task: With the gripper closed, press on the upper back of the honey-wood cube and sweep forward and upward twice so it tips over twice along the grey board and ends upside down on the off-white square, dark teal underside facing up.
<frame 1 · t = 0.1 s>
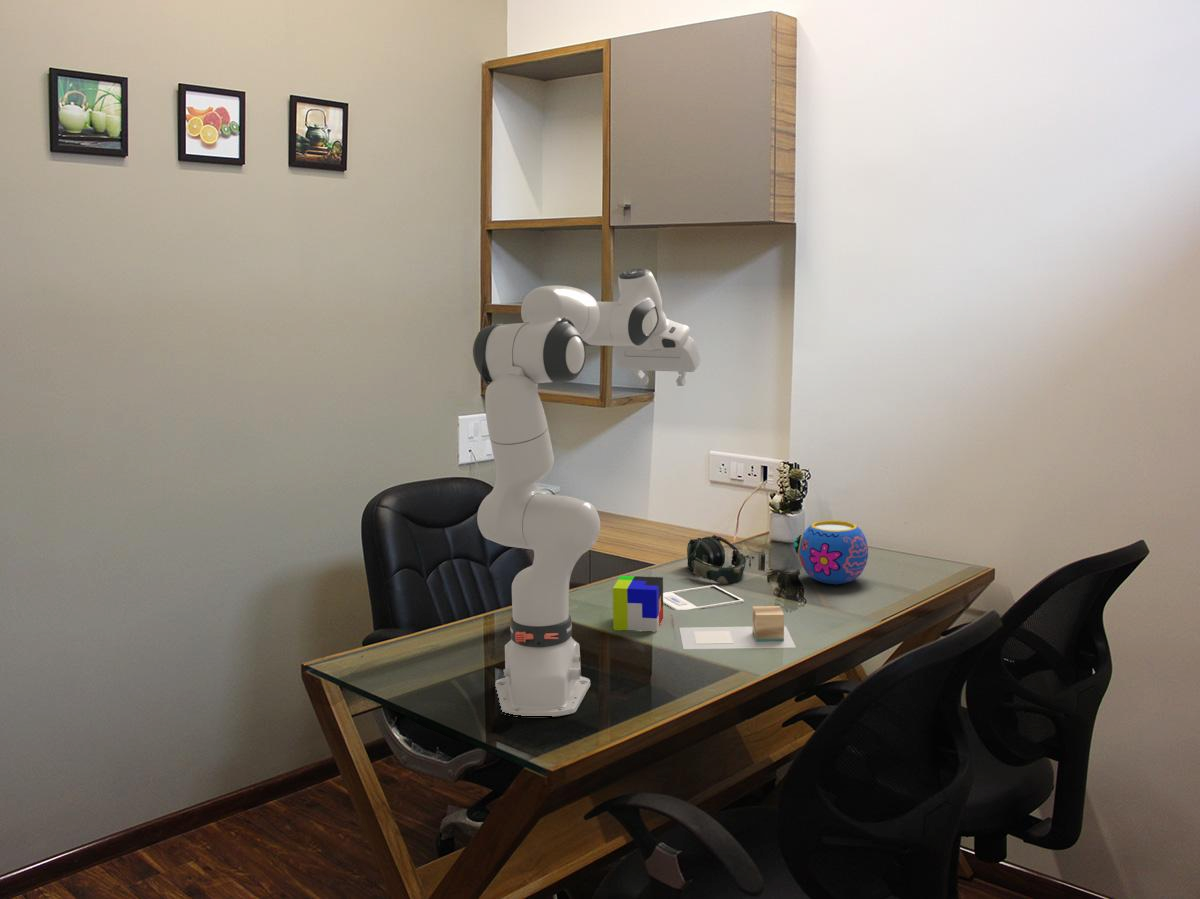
hand: (663, 383, 257), 54 cm above the table, tool tilted 30°, fingers open, 8 cm apart
headphones: (714, 575, 293), on the table
wood cube: (767, 636, 241), point 1 cm above the table, touching grey board
grey board: (735, 641, 241), on the table
photo frame: (697, 601, 272), on the table
puzzle toy: (638, 625, 254), on the table
ceramic pot: (832, 582, 284), on the table
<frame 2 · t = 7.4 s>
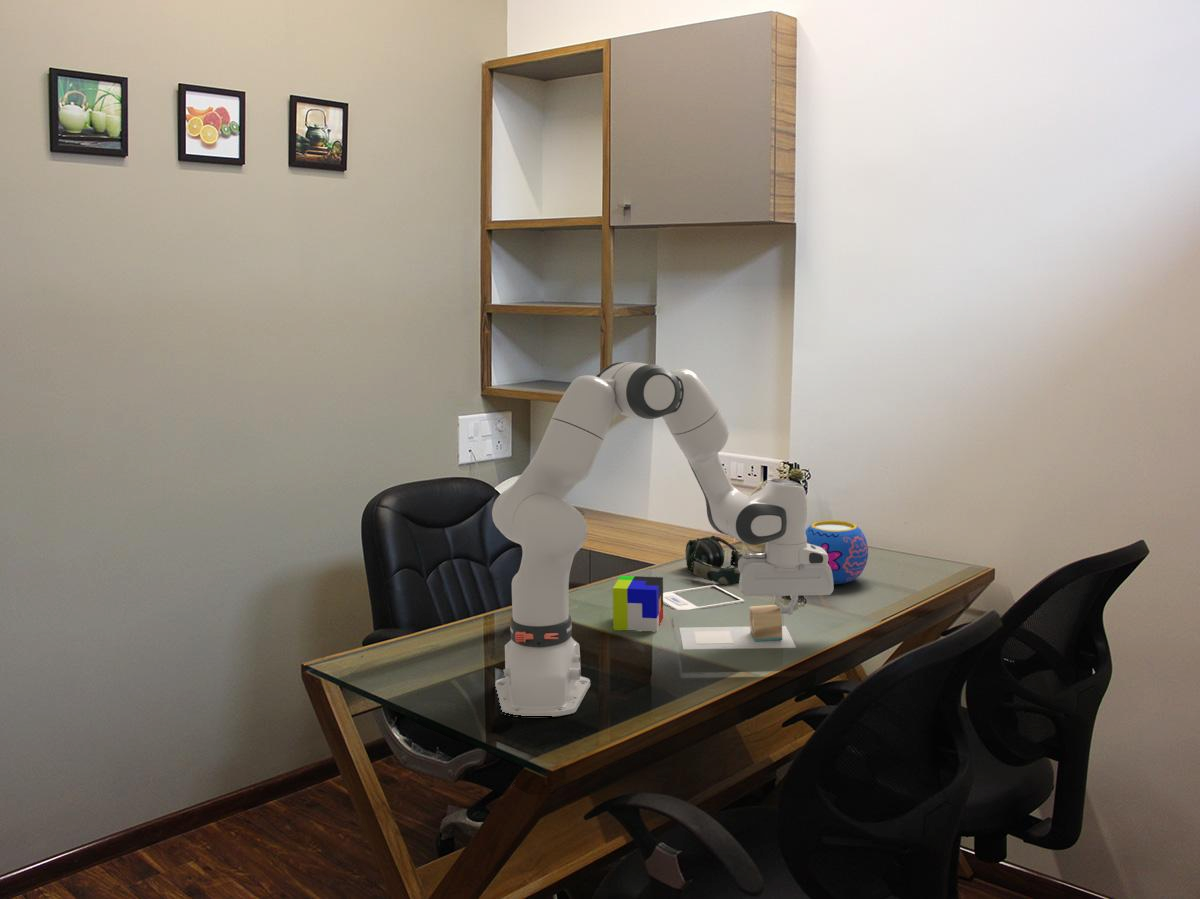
hand: (785, 614, 240), 6 cm above the table, tool pointing down, fingers closed
wood cube: (766, 636, 241), point 1 cm above the table, touching grey board, gripper
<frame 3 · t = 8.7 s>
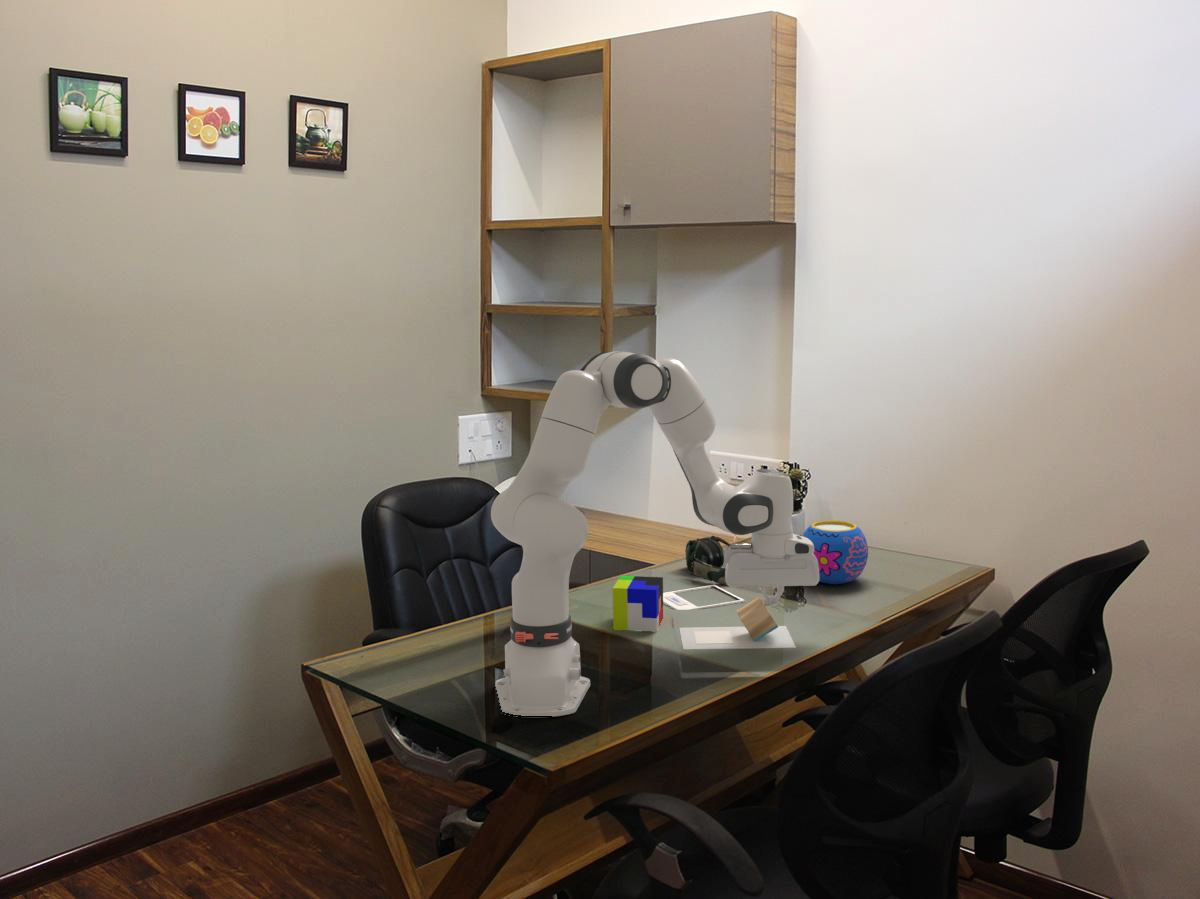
hand: (771, 604, 240), 8 cm above the table, tool pointing down, fingers closed
wood cube: (764, 629, 241), point 3 cm above the table, tilted 32°, touching grey board, gripper
everything else where it was.
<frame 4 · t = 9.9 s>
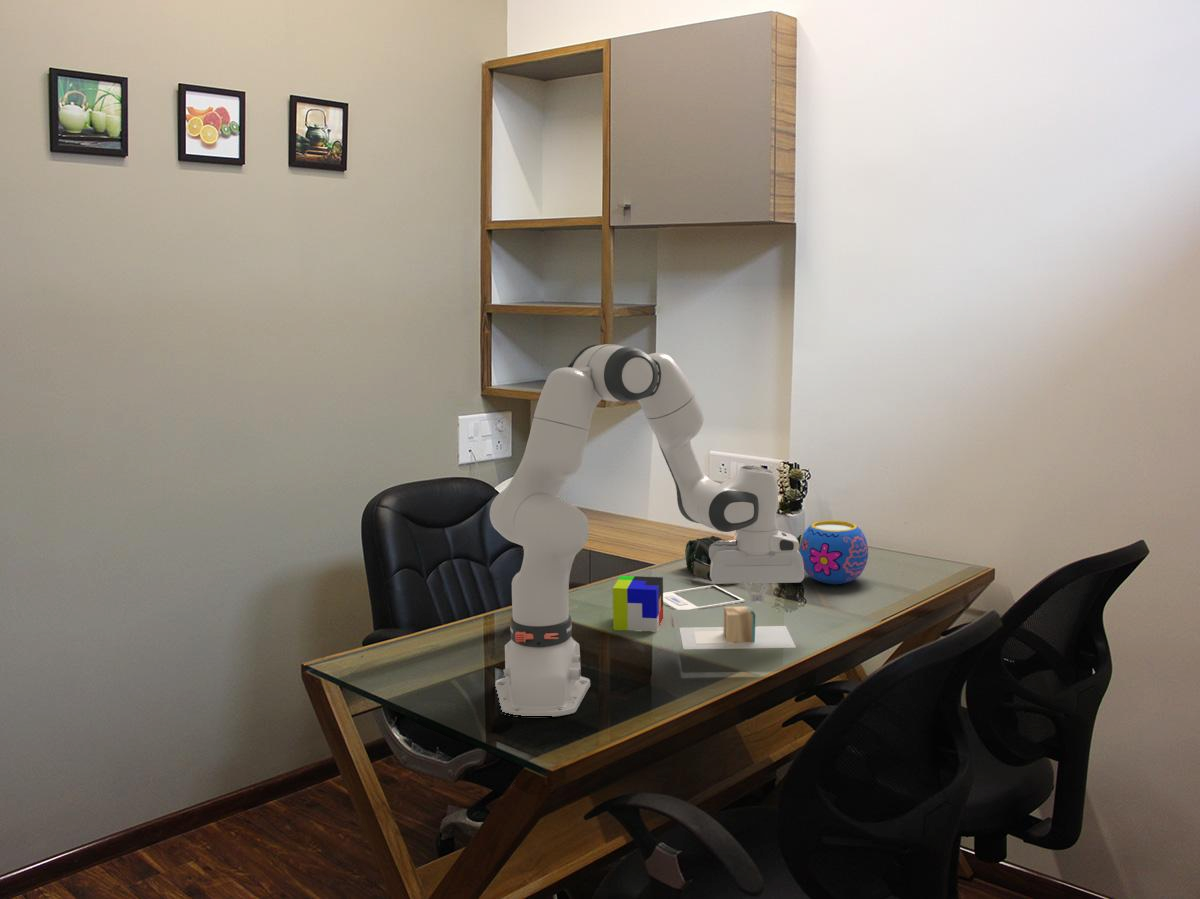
hand: (756, 601, 240), 9 cm above the table, tool pointing down, fingers closed
wood cube: (752, 623, 241), point 4 cm above the table, tilted 89°, touching grey board
everything else where it was.
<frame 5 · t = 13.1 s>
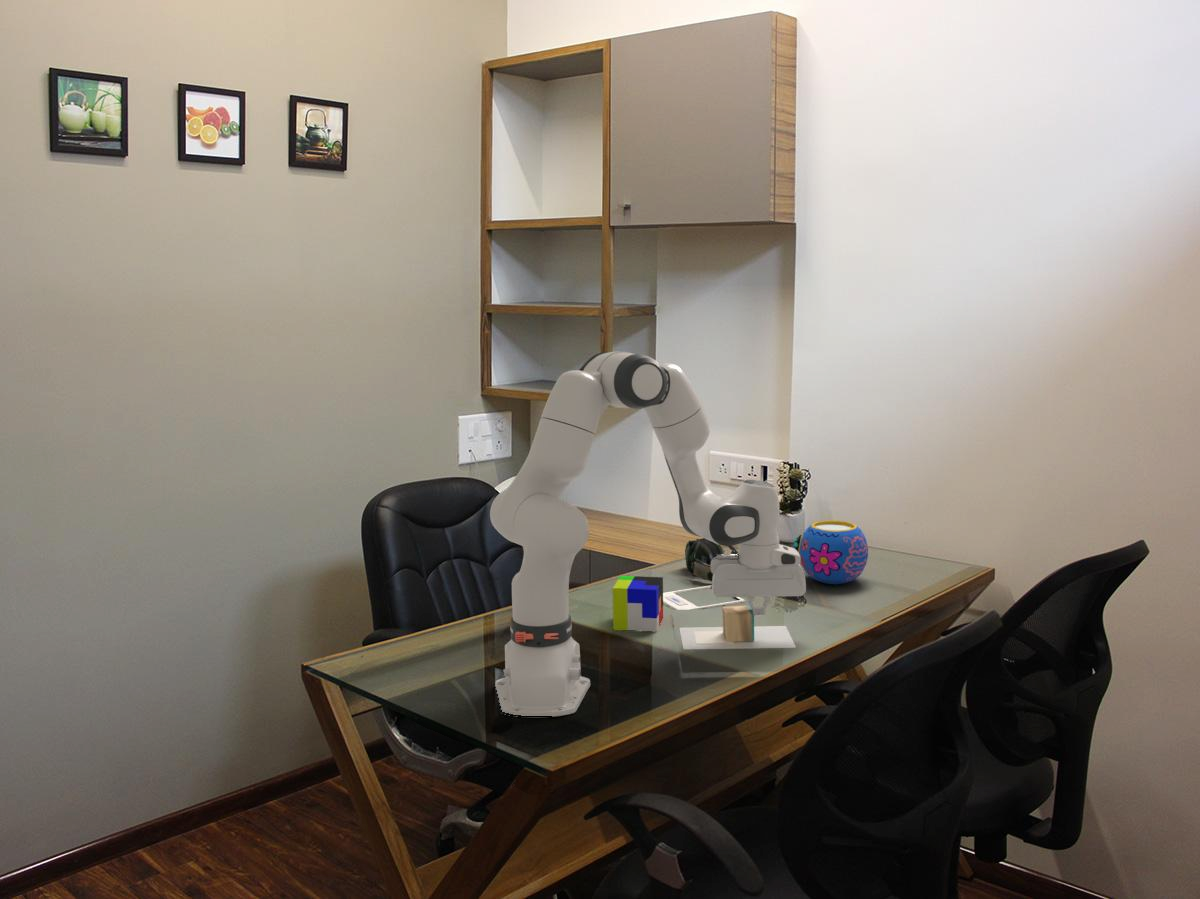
hand: (758, 615, 240), 6 cm above the table, tool pointing down, fingers closed
wood cube: (751, 622, 241), point 4 cm above the table, tilted 91°, touching grey board, gripper
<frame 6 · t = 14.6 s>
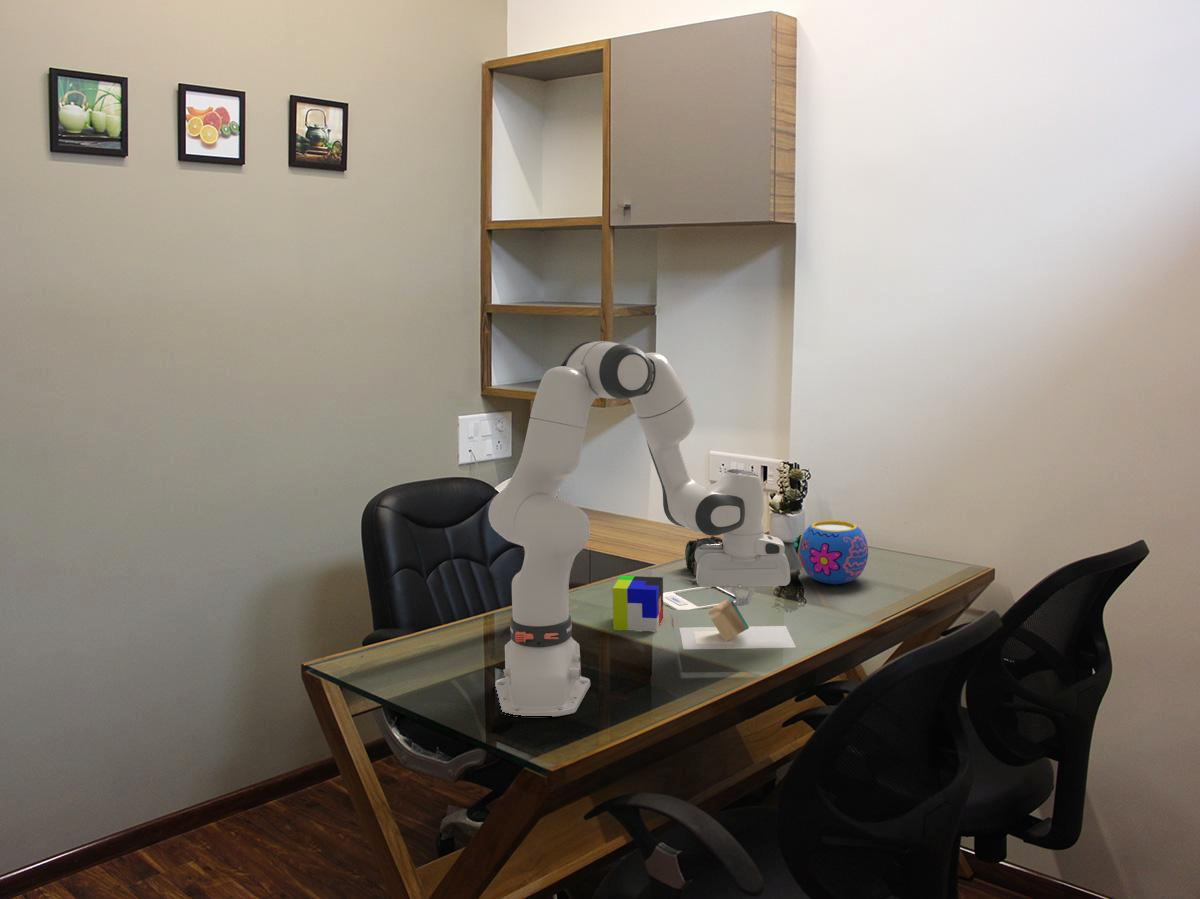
hand: (742, 605, 240), 8 cm above the table, tool pointing down, fingers closed
wood cube: (739, 612, 240), point 7 cm above the table, tilted 120°, touching grey board, gripper
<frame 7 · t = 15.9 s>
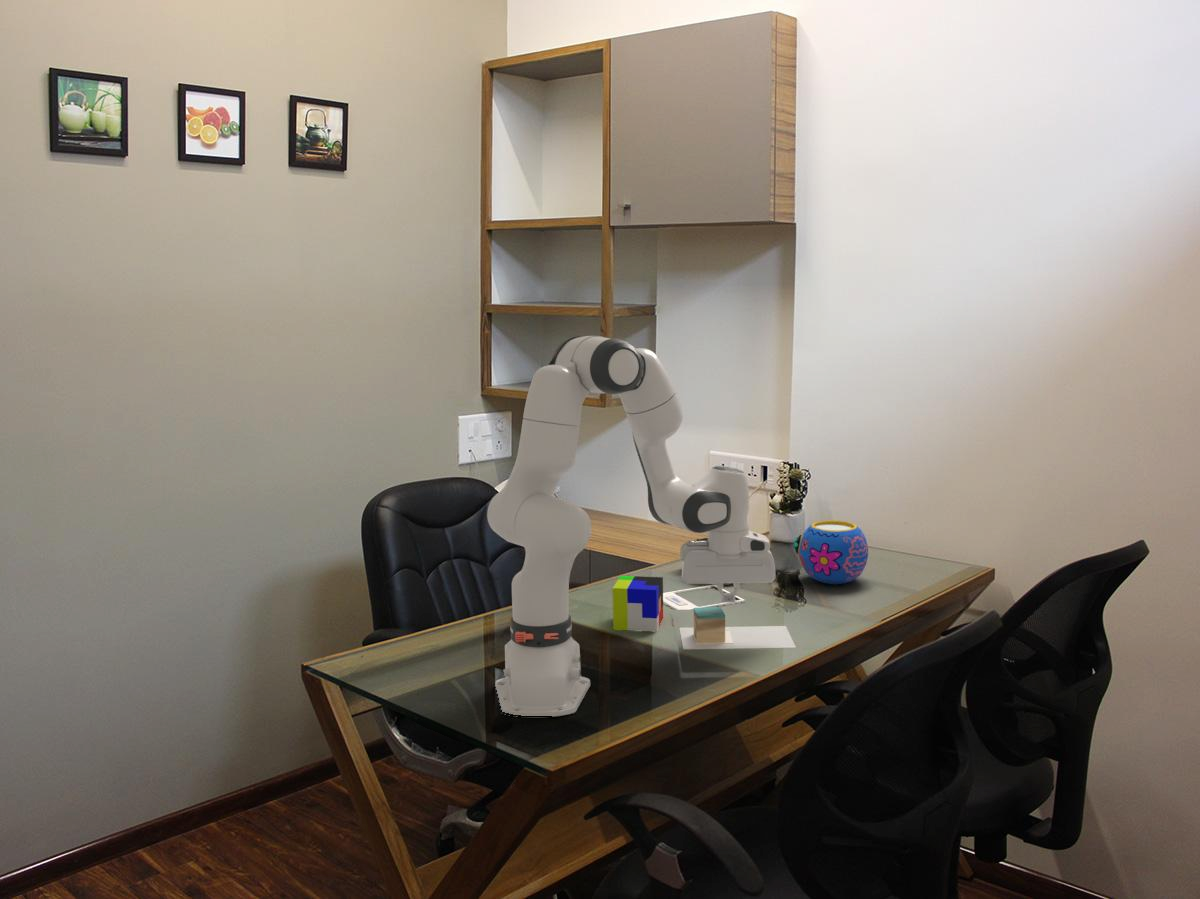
hand: (728, 602, 240), 9 cm above the table, tool pointing down, fingers closed
wood cube: (709, 611, 240), point 7 cm above the table, tilted 180°, touching grey board
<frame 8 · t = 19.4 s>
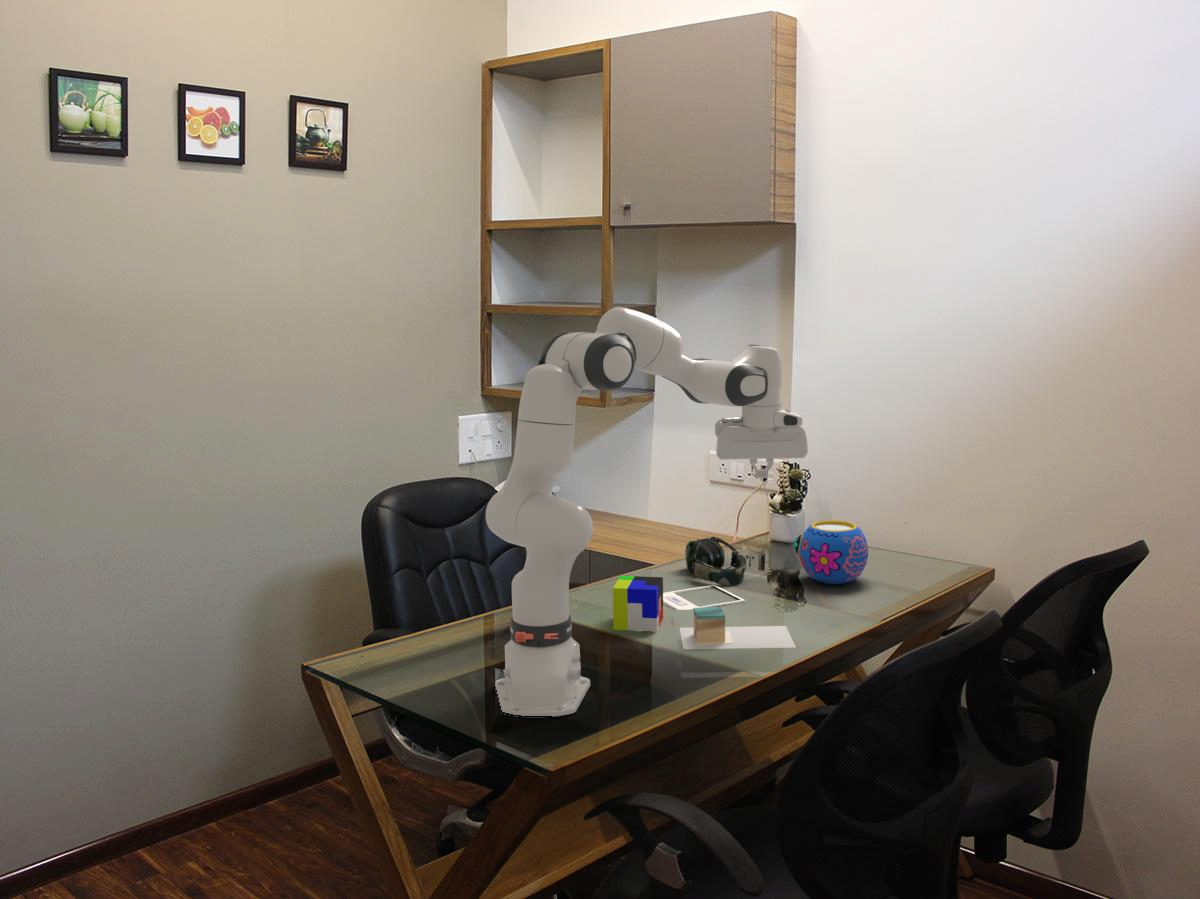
hand: (761, 477, 247), 34 cm above the table, tool pointing down, fingers closed
at the end: wood cube tilted 180°; wood cube inside the target area (1.0 cm from its centre), point 7.1 cm above the table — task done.
